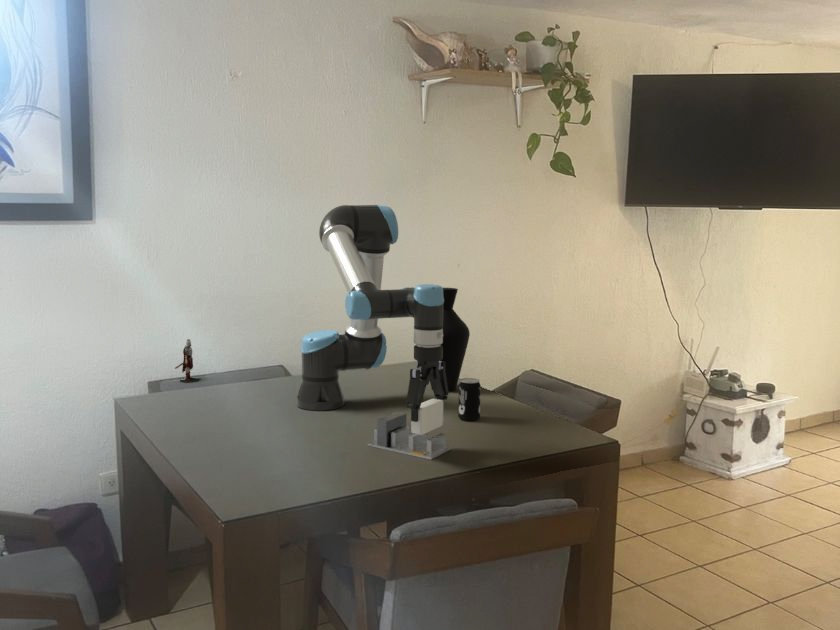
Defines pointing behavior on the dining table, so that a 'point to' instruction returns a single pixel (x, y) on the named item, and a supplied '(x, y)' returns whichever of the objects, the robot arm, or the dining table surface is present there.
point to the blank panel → (431, 415)
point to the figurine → (187, 363)
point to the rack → (406, 438)
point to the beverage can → (469, 399)
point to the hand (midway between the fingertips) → (427, 428)
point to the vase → (453, 339)
